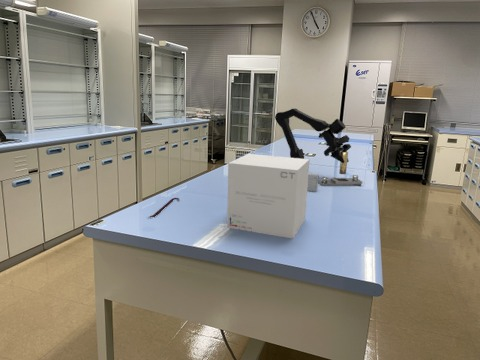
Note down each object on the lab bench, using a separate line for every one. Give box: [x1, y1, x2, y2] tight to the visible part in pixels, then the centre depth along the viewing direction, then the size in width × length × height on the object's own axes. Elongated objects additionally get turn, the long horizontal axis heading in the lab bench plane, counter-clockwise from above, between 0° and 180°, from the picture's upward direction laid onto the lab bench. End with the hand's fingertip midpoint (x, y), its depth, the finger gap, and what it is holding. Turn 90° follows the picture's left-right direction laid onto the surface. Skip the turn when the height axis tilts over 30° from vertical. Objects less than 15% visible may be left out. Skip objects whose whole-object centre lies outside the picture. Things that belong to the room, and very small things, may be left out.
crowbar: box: [147, 197, 180, 218], centre depth 157 cm, size 28×1×5 cm
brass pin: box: [339, 151, 349, 175], centre depth 202 cm, size 4×4×12 cm
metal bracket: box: [318, 174, 363, 187], centre depth 204 cm, size 23×8×5 cm, turn 96°
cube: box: [226, 153, 310, 239], centre depth 140 cm, size 25×21×24 cm
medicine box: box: [307, 172, 319, 193], centre depth 190 cm, size 8×4×9 cm, turn 71°
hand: (345, 162), depth 201 cm, fingers closed on brass pin, 4 cm apart
